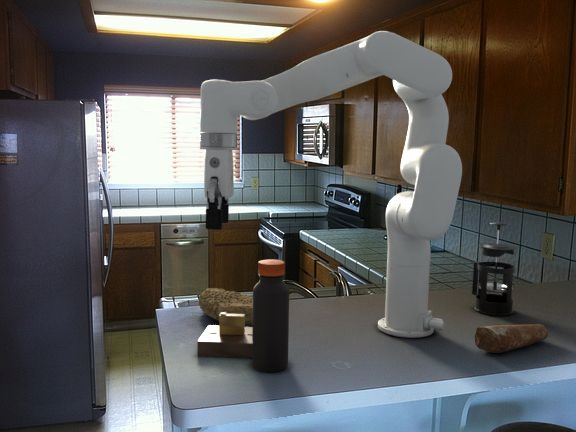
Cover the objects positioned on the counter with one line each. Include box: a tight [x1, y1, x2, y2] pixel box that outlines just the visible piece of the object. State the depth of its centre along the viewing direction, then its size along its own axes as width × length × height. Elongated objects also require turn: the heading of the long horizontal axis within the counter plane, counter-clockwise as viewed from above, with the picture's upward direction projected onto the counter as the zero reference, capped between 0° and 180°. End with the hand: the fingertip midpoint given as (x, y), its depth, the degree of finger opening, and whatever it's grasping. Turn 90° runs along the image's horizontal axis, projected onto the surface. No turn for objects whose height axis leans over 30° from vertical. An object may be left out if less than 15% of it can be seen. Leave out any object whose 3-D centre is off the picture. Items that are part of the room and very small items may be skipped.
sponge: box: [198, 287, 253, 326], centre depth 132 cm, size 13×8×20 cm
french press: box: [471, 221, 517, 317], centre depth 143 cm, size 12×9×23 cm
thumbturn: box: [218, 312, 246, 335], centre depth 114 cm, size 5×2×4 cm, turn 86°
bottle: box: [251, 258, 290, 373], centre depth 105 cm, size 7×7×20 cm
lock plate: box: [197, 324, 253, 359], centre depth 114 cm, size 12×10×3 cm
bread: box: [474, 323, 549, 354], centre depth 117 cm, size 6×19×6 cm, turn 119°
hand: (217, 225), depth 116 cm, fingers open, 9 cm apart
